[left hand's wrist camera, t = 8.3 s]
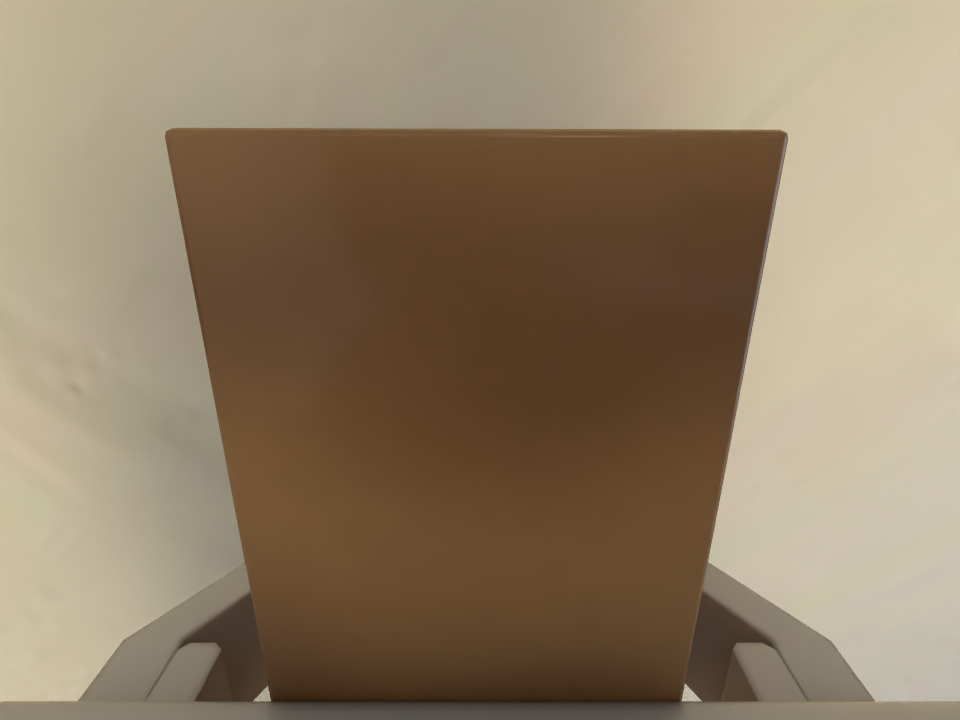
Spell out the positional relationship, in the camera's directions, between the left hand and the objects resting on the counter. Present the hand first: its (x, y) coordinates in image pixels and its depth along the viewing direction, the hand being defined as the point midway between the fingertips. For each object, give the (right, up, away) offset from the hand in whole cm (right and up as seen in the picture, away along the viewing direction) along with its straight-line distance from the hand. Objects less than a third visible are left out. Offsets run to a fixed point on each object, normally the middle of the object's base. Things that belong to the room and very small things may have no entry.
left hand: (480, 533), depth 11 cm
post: (0, -24, +12) cm, 27 cm away
